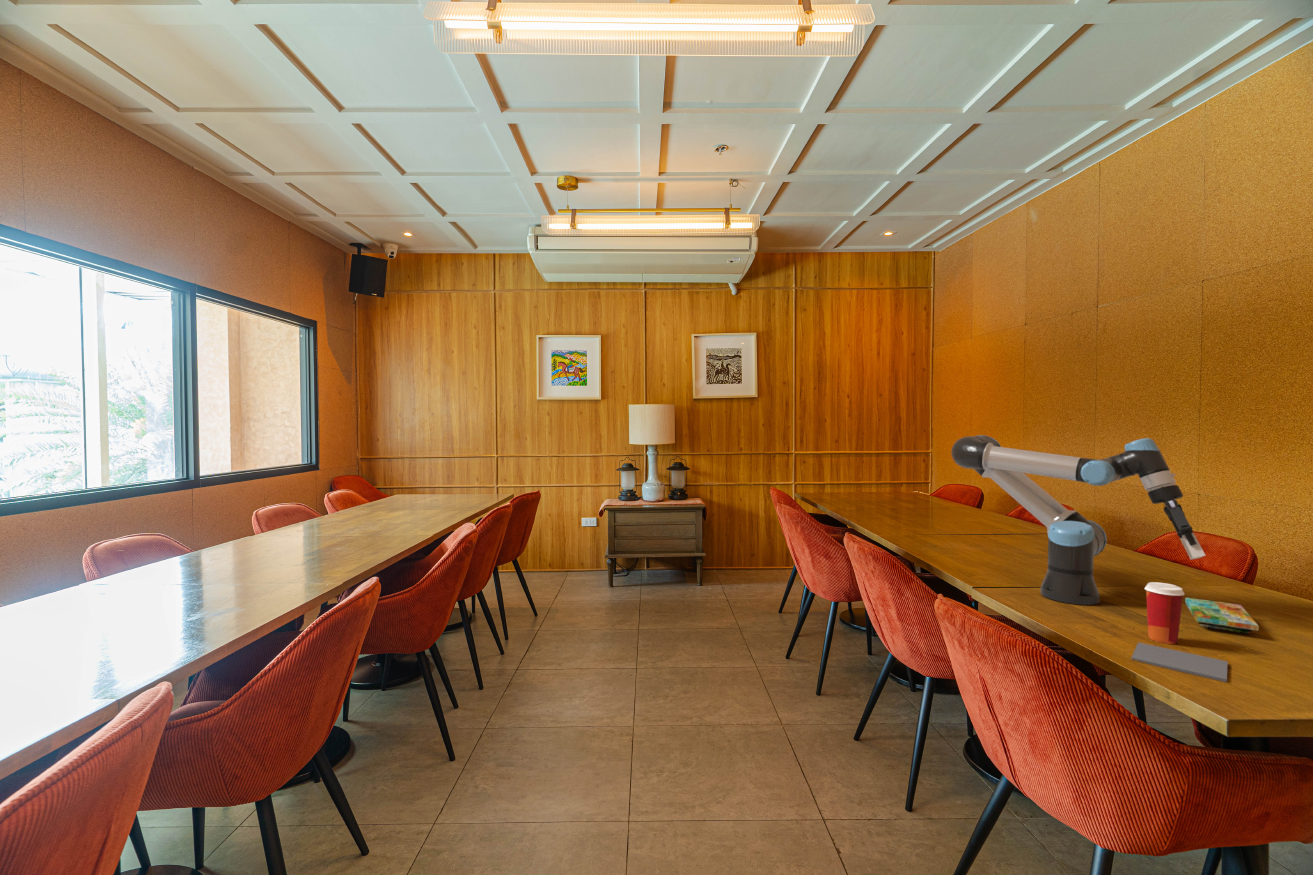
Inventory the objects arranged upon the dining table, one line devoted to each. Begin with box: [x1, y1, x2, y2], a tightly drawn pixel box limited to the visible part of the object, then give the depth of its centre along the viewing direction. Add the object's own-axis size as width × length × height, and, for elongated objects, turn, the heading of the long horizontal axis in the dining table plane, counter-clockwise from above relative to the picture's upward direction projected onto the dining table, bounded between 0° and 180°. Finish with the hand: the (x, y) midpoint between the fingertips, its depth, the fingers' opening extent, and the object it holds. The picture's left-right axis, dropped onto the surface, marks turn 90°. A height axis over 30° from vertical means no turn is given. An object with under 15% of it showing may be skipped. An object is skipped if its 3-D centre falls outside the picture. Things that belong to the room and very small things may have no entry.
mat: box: [1130, 642, 1228, 683], centre depth 135 cm, size 16×13×1 cm
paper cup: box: [1144, 581, 1185, 645], centre depth 149 cm, size 8×8×14 cm
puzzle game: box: [1184, 597, 1260, 634], centre depth 161 cm, size 12×5×20 cm
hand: (1198, 557), depth 167 cm, fingers open, 13 cm apart
